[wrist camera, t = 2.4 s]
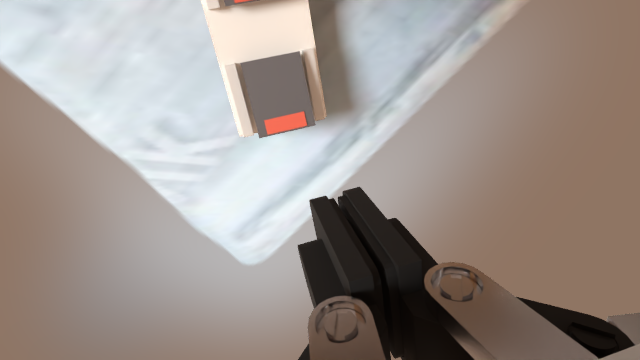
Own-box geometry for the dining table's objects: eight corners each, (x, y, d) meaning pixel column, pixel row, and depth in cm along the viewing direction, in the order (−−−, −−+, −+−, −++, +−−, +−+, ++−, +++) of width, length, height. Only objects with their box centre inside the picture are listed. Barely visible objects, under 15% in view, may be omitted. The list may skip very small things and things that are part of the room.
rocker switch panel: (182, -73, 22) (173, -93, 18) (284, -88, 23) (293, -109, 19) (239, 126, 28) (239, 139, 24) (318, 108, 29) (329, 119, 25)
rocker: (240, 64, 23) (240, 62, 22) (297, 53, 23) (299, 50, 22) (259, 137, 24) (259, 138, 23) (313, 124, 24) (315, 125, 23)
